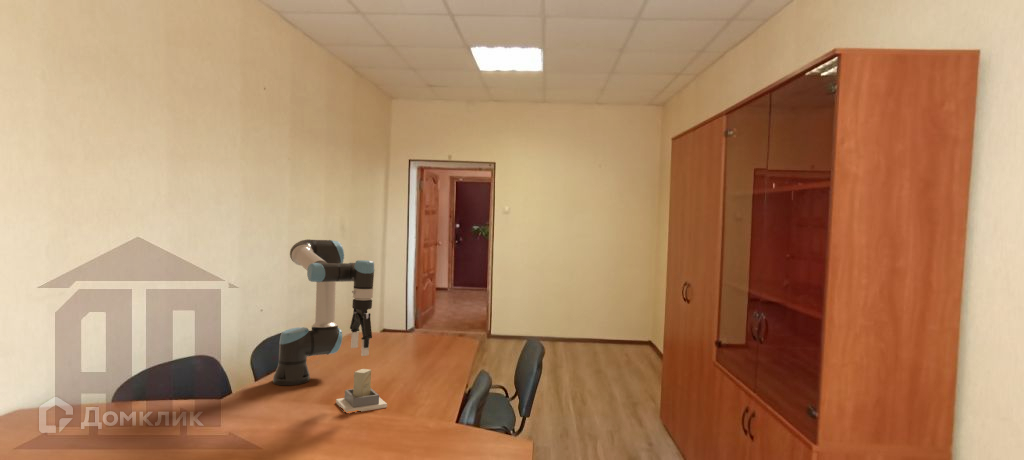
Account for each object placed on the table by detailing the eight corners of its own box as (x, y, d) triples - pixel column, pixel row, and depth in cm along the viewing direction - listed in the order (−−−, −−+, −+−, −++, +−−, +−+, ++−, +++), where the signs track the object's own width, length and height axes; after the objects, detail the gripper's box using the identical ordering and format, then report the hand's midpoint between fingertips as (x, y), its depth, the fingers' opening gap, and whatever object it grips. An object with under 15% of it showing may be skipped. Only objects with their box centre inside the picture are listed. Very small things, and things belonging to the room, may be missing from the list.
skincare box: (362, 404, 188) (363, 373, 189) (351, 403, 189) (353, 372, 190) (370, 399, 194) (372, 369, 195) (360, 398, 196) (362, 368, 196)
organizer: (335, 402, 193) (336, 390, 193) (375, 397, 202) (375, 385, 202) (345, 413, 182) (346, 400, 182) (386, 407, 191) (387, 394, 191)
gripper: (344, 294, 202) (341, 345, 202) (363, 303, 181) (359, 360, 181) (362, 294, 206) (359, 344, 206) (382, 303, 186) (379, 358, 185)
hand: (359, 351), depth 193 cm, fingers open, 13 cm apart
